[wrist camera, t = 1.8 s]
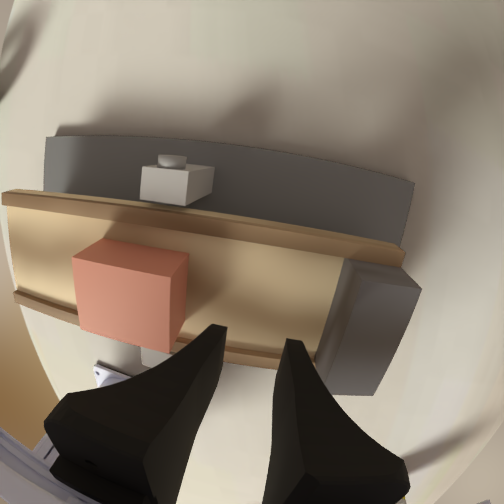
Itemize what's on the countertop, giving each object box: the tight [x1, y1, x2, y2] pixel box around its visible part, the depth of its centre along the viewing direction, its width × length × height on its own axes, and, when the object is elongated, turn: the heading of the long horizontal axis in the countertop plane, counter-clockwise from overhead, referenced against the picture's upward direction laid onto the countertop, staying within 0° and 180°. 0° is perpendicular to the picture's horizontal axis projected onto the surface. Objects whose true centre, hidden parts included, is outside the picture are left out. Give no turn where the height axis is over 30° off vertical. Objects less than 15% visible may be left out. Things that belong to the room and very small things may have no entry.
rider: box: [72, 238, 189, 354], centre depth 14 cm, size 4×5×3 cm
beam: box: [2, 189, 422, 396], centre depth 14 cm, size 8×24×4 cm, turn 82°
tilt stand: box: [44, 136, 415, 368], centre depth 18 cm, size 15×27×6 cm, turn 82°
